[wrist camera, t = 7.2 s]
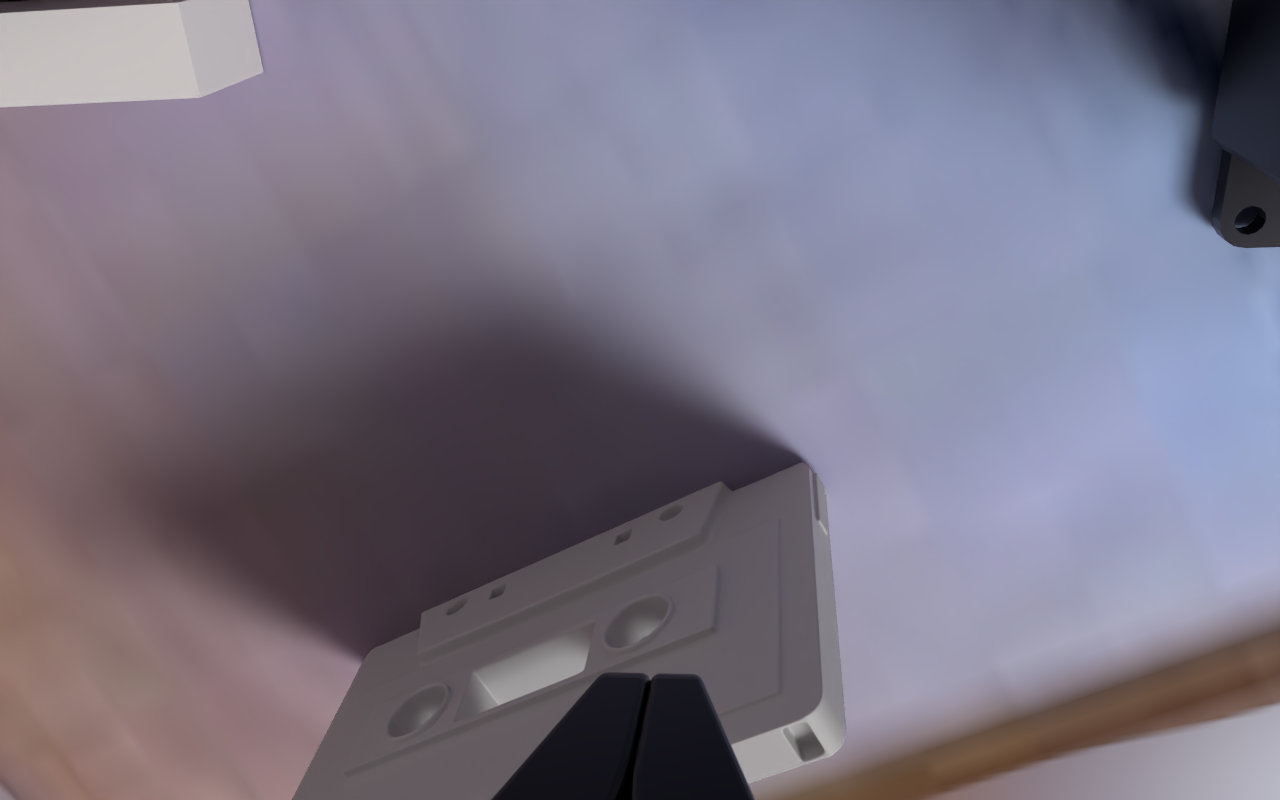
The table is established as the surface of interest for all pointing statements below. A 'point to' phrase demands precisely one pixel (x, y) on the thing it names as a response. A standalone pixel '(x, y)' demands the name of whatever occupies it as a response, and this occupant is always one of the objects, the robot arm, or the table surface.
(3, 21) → the u rest
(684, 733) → the robot arm
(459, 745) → the cassette
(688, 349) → the table surface
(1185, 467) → the table surface
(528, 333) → the table surface
